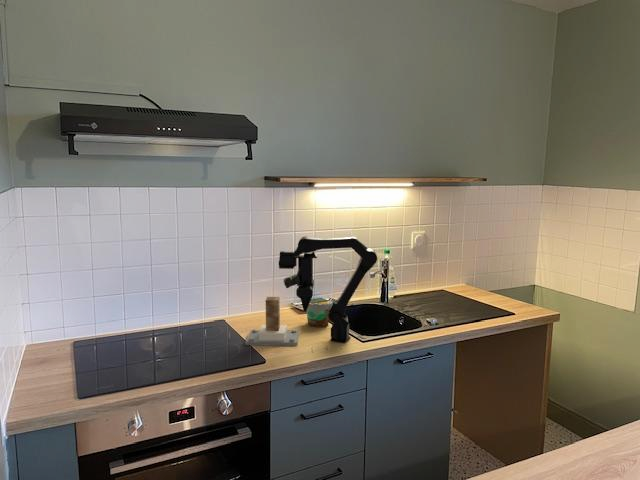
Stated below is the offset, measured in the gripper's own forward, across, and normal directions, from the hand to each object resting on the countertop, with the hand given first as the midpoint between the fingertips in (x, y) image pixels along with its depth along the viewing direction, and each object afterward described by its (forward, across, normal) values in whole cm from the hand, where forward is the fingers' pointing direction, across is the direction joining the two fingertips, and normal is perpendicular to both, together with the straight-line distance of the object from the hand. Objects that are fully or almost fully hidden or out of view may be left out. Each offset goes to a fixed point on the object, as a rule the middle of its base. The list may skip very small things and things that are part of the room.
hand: (305, 307), depth 197 cm
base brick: (+13, 0, -13) cm, 18 cm away
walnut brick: (+9, 0, -13) cm, 16 cm away
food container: (+13, -17, +4) cm, 22 cm away
